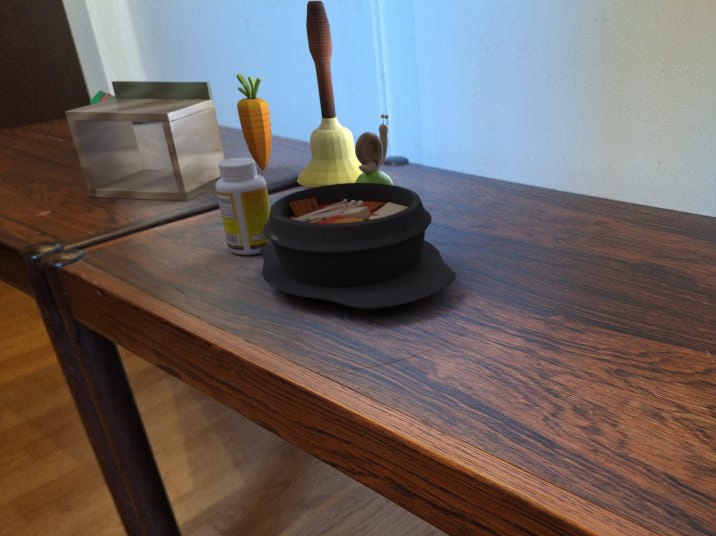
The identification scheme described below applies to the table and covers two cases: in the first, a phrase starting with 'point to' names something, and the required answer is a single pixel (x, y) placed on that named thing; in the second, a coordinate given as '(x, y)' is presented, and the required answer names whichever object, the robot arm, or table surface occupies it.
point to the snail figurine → (373, 155)
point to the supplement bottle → (243, 205)
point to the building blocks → (102, 97)
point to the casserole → (353, 246)
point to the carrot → (255, 122)
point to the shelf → (120, 149)
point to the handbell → (327, 114)
